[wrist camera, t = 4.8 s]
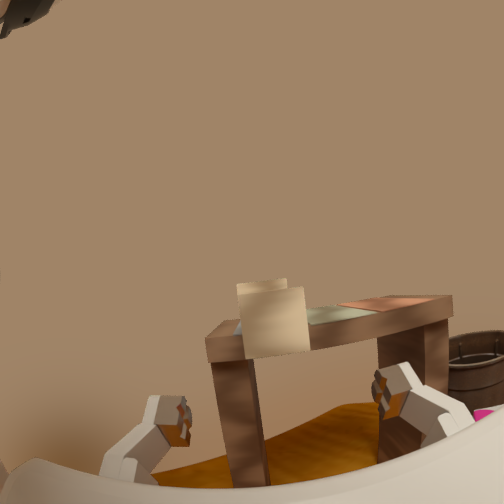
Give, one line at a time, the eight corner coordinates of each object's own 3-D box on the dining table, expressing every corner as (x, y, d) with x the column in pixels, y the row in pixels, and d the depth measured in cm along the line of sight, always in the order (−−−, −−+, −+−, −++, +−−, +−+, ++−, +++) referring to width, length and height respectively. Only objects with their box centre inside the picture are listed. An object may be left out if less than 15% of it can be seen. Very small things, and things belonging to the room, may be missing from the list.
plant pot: (497, 466, 18) (517, 359, 20) (404, 455, 31) (408, 363, 33) (514, 411, 27) (522, 325, 29) (442, 410, 40) (444, 333, 42)
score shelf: (247, 548, 18) (204, 336, 22) (250, 485, 32) (224, 319, 35) (433, 502, 18) (451, 293, 22) (392, 456, 32) (389, 294, 36)
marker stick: (224, 361, 13) (213, 275, 13) (243, 319, 34) (239, 285, 34) (331, 346, 13) (321, 261, 13) (286, 313, 34) (281, 280, 34)
